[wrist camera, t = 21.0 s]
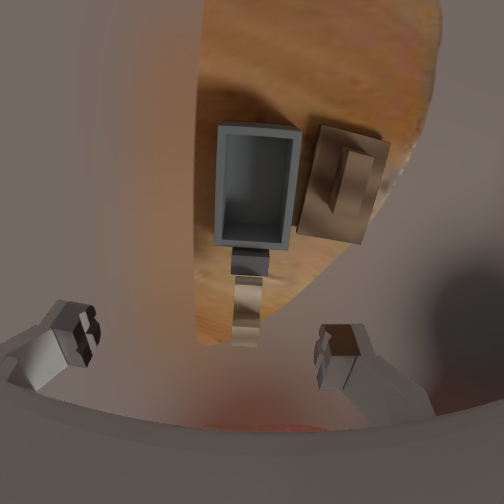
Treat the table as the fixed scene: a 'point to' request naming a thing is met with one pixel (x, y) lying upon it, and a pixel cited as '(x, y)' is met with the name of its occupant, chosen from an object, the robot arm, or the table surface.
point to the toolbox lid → (342, 185)
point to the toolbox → (255, 191)
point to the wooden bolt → (246, 311)
